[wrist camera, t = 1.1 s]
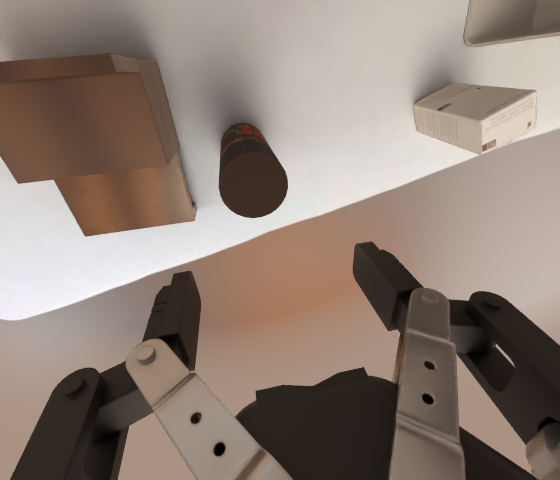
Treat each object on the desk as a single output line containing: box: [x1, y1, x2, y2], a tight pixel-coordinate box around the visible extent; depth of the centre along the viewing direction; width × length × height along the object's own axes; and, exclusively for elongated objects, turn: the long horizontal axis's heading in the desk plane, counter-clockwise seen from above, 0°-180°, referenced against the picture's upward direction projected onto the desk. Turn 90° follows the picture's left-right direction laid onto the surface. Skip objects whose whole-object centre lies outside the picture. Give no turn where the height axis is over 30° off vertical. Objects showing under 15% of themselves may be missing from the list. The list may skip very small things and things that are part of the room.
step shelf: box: [0, 54, 197, 236], centre depth 27 cm, size 14×18×14 cm
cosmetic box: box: [413, 83, 537, 155], centre depth 32 cm, size 6×4×12 cm
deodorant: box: [219, 123, 288, 218], centre depth 29 cm, size 6×6×15 cm
